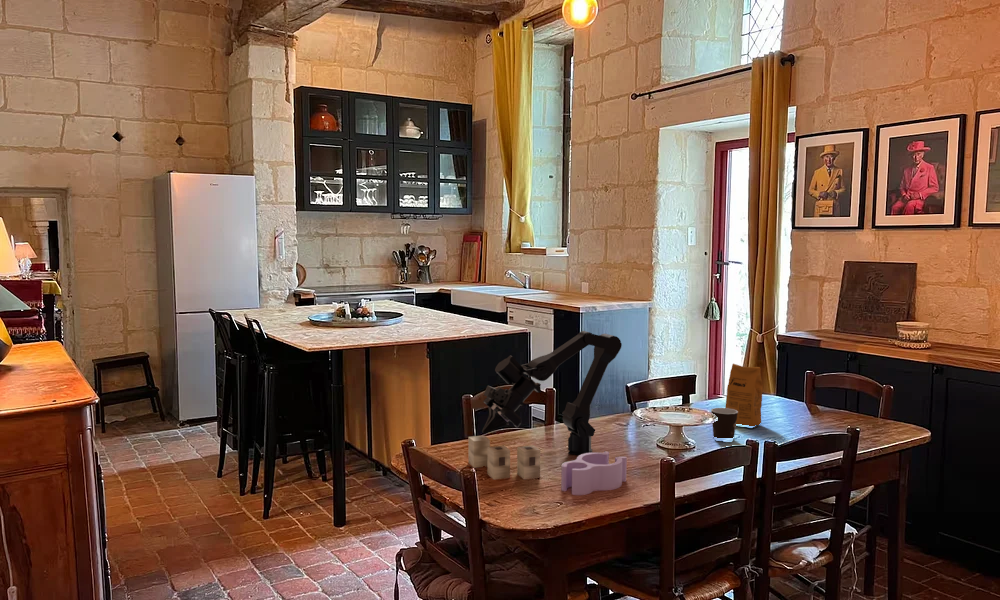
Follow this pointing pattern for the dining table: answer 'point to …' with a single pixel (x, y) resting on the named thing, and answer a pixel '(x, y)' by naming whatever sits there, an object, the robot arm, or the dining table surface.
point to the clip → (593, 473)
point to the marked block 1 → (498, 462)
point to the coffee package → (745, 394)
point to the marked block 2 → (528, 462)
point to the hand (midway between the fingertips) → (483, 432)
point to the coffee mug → (724, 422)
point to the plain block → (478, 451)
